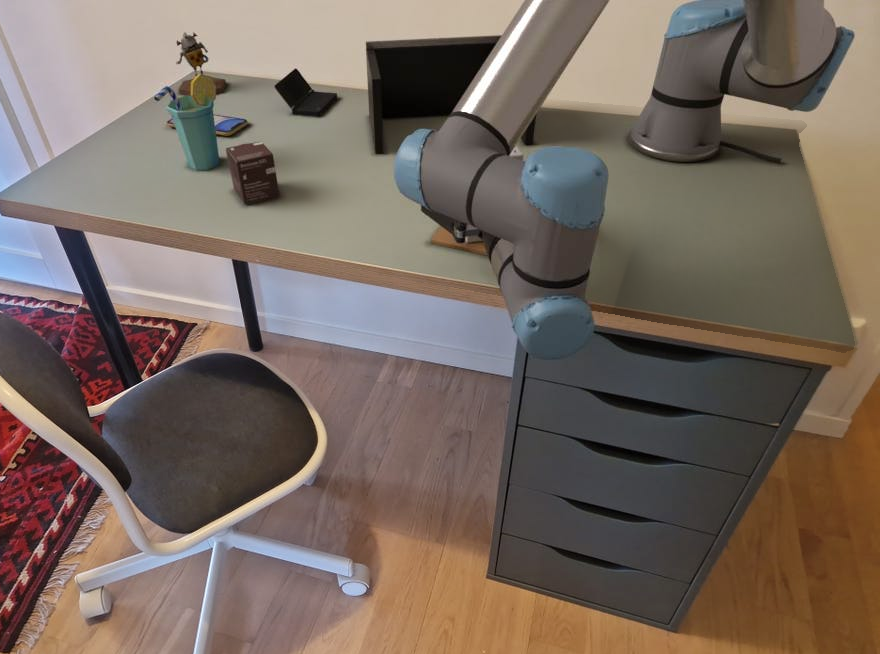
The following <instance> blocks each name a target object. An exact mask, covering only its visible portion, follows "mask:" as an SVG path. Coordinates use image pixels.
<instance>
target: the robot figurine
mask: <svg viewBox="0 0 880 654" xmlns="http://www.w3.org/2000/svg"><path fill="white" fill-rule="evenodd" d="M181 37H182V38H181V40H180V41H179V40H178V39H177V40H176V46H177V47H178V46H180V45H181V48H180V50H181V52H179V56H180V57H179V60H177V61H176V62H175V64H176V65H180V64H181V63H182V61H183V58H184V59H185V60H186V62H187V64H188V65H189V66H190V67H191V68H192V69H193V71H194V73H195V74H194V76H195V77H196V76H197V75H198V73H197V70H198V67H199V68H200V69H199V70H200V72H199V74H201V75H204V71H203V70H202V68H203V65H204V64H206V63H208V61H209V59H210V58H209V57H208V56H207V55H206V54H208V52H209V50H208V49H207V48H206V47H205V45H204V44H203V43H202V42H201V41H199V42H197V39H196V37H198V35H197V34H196V33H195V32H194V31H193V32H192V35H190V34H187V32H186V31H182V32H181ZM203 51H204V52H205V53H206V54H204V53H203ZM211 78H212V80H213V81H214V83H215V85H216V95H217V94H221V93H223V91H224V89H225V87H226V85H227V81H226V79H224V78H220V77H213V76H211ZM193 79H194V78H191V79H190V78H189V79H187V80H183V81H182V83H181V85H180V86H179V88H178V93H179V95H183V96H191V82H192V81H193Z"/></svg>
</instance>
